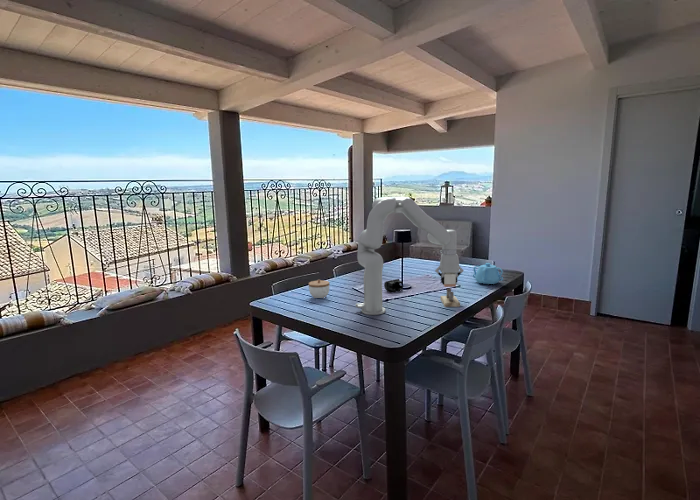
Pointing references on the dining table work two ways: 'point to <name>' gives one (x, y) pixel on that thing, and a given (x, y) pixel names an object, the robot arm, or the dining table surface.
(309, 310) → the dining table surface
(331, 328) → the dining table surface
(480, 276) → the decorative pot
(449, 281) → the sleeve
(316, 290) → the lidded bowl
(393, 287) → the end cap
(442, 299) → the pin board
